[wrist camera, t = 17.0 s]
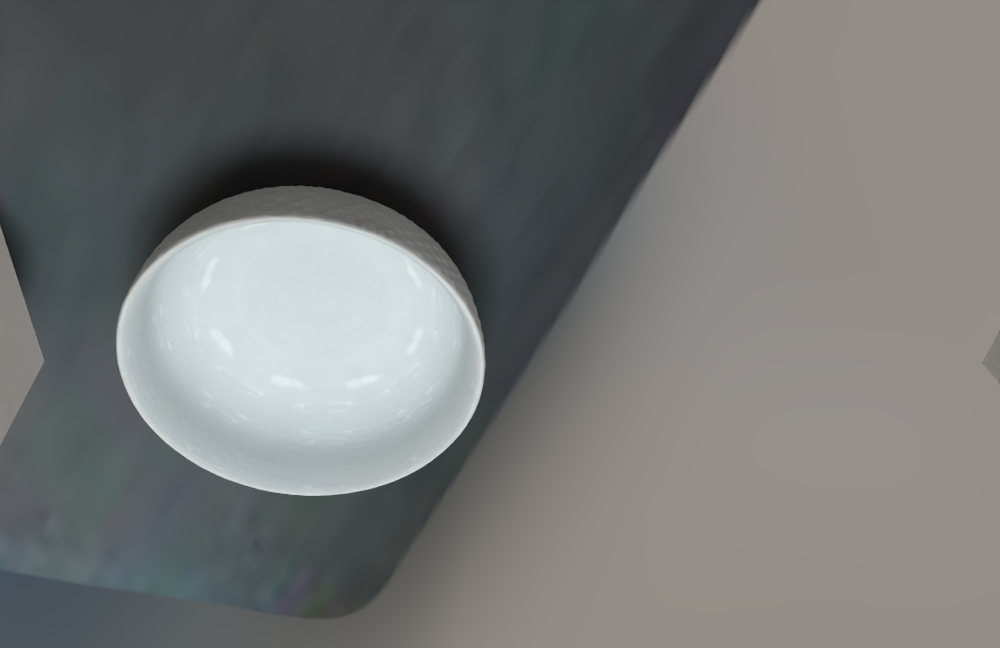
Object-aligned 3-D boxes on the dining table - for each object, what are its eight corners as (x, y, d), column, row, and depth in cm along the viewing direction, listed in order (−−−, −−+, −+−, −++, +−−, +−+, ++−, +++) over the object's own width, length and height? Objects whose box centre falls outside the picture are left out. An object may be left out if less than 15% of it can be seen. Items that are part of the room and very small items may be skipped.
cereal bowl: (541, 278, 46) (559, 362, 40) (347, 446, 52) (339, 539, 47) (279, 71, 38) (257, 140, 32) (87, 299, 44) (41, 390, 39)
